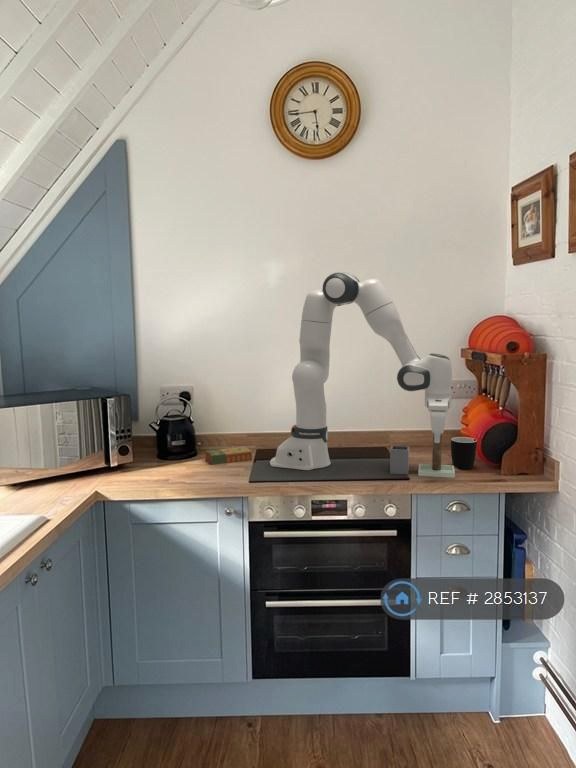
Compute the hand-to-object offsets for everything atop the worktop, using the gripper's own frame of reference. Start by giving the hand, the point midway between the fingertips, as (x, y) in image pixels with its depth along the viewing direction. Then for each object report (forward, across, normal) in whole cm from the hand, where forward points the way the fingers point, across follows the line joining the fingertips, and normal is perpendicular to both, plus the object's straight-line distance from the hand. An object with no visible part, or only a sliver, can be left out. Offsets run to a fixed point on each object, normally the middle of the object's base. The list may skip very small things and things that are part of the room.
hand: (436, 441), depth 206 cm
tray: (+12, 0, 0) cm, 12 cm away
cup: (+12, +1, -12) cm, 17 cm away
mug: (+12, -13, +9) cm, 20 cm away
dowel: (+10, 0, 0) cm, 10 cm away
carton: (+12, -4, -77) cm, 78 cm away
